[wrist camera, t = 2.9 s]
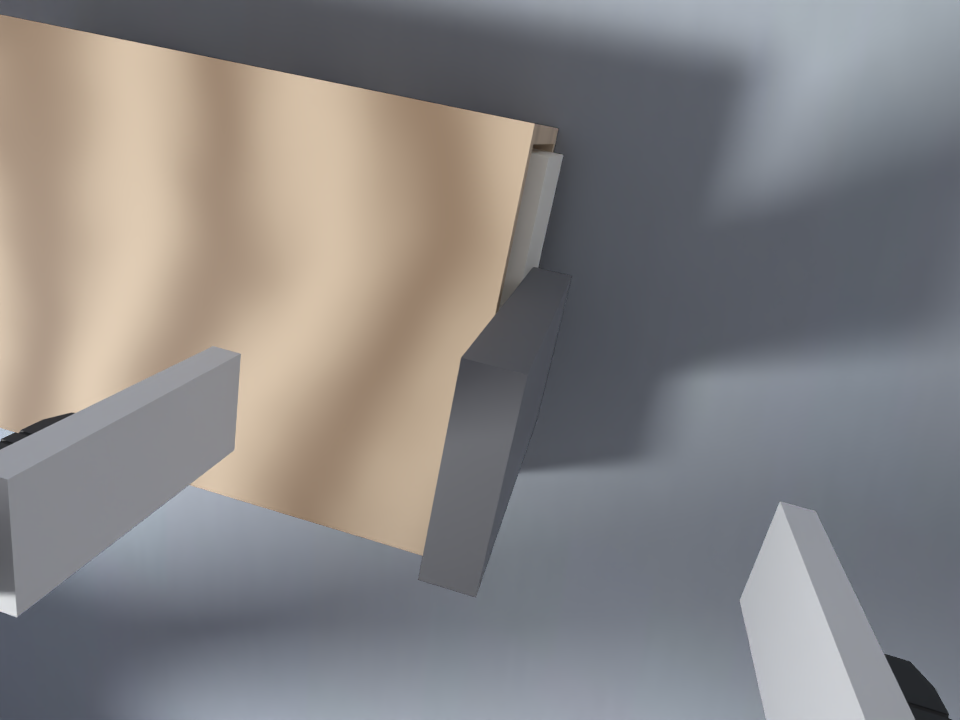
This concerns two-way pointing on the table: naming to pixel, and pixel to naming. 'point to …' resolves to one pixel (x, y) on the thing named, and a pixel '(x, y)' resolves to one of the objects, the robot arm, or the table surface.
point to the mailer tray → (497, 398)
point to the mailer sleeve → (253, 259)
